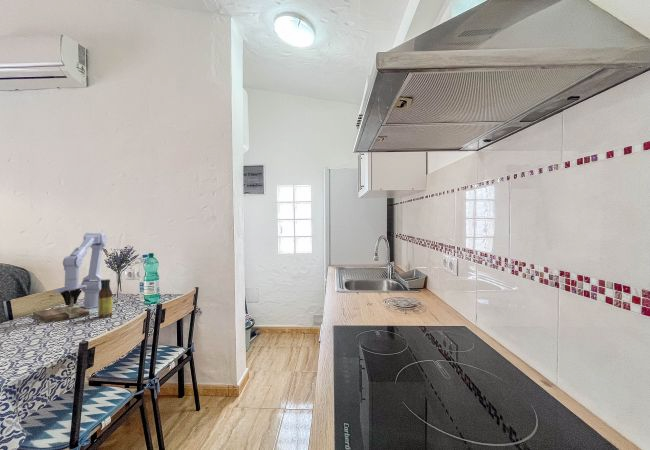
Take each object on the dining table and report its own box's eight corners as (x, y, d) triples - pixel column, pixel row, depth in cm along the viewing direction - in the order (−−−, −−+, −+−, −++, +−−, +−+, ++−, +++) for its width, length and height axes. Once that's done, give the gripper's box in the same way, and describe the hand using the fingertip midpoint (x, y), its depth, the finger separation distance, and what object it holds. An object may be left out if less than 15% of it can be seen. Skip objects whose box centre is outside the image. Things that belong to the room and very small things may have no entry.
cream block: (72, 313, 169) (73, 295, 169) (79, 316, 164) (79, 298, 164) (63, 315, 166) (63, 296, 166) (69, 318, 161) (70, 299, 161)
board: (74, 309, 180) (74, 305, 180) (89, 315, 169) (89, 311, 169) (33, 315, 165) (33, 311, 165) (46, 322, 154) (46, 318, 154)
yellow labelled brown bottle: (115, 315, 171) (116, 278, 171) (106, 318, 164) (107, 280, 165) (104, 314, 171) (105, 278, 171) (94, 317, 165) (96, 280, 165)
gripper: (80, 276, 174) (79, 300, 174) (51, 280, 160) (49, 306, 160) (89, 277, 172) (88, 302, 172) (60, 281, 158) (59, 308, 158)
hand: (70, 304), depth 166 cm, fingers closed on cream block, 2 cm apart
